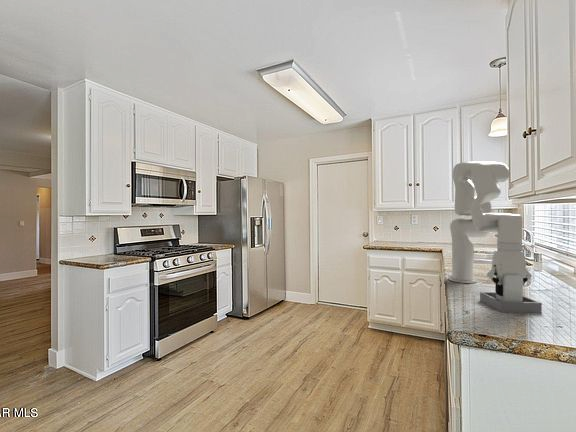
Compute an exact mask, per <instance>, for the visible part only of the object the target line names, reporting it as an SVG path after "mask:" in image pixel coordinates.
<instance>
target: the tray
mask: <svg viewBox="0 0 576 432" xmlns="http://www.w3.org/2000/svg"><path fill="white" fill-rule="evenodd" d="M479 294H480V295H479V301H480V302H482V303H483V304H485V305H487V306H489V307H491V308H492V309H494V310H496V311H498V312H500V313H527V314H529V313H531V314H542V309H543V307H542V305H543V303H542V302H540V301H538V300H535V299H533V298H531V297H528V296H526V295H523V302H502V301H500V300H498V299H497V298H496V292H495V291H494V292H493V291H480V292H479Z"/></svg>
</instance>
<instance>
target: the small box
mask: <svg viewBox="0 0 576 432" xmlns="http://www.w3.org/2000/svg"><path fill="white" fill-rule="evenodd" d="M501 285H503V296H500V295H497V294H496V298H497V299H498V300H500V301H502V302H523V296H524V294H523V290H524V289H523V287H524V285H523V276H520V275H504V278H503V282H502V284H501Z"/></svg>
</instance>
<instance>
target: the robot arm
mask: <svg viewBox="0 0 576 432" xmlns="http://www.w3.org/2000/svg"><path fill="white" fill-rule="evenodd" d="M509 178H510V170H509V167H508V166H507V164H505V163H503V162H497V161H465V162H459V163H456V164H455V165H454V167H453V169H452V180H453V185H454V189H455V191H454V213H455V214H456V215H457V216H464V218H454V219H453V220H452V221H451V222H450V225H449V229H450V234H451V236H450V237H451V275H450V276H448V280H449V281H451V282H455V283H460V284H475V283H477V282H478V279H477V278H475V277H474V267H475V266H474V263H475V262H474V258H475V257H474V249H475V248H474V245H473V242H472V241H471V240H470V239H469V238H486V237H488V235H490V233H496V234H497V238H496V239H497V240H496V241H497V242H496V243H497V244H496V246H497V247H496V248H497V249H495V250H494V252H493V256H492V263H491V269H490V270H489V271H488V272H487V273H486V276H487V277H488V278H489V279H490V281H492V282H493V283H494V285H495V286H494V287H495V291H494V292H496V294H497V295H500V296H503V285H501V284H502V282H503V278H504V275H520V276H523V286H525V284H526V283H527V282H528V280H529V279H530V278H532V276H533V275H532V274H531V273H530V272H529V271H528V270H527V264H526V263H527V262H526V255H525V253H524V250H523V249H524V248H526V245H525V244H524V243H523V217H522V215H520V214H518V213H517V214H515V213H508V212H503V213H502V212H500V213H499V212H492V203H491V201H494V200H495V199H498V197H499V196H500V195H501V187H500V185H499V183H505V182H506V181H508V180H509ZM475 193H476V194H475ZM475 195H476V196H475ZM467 217H471V218H467Z"/></svg>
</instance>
